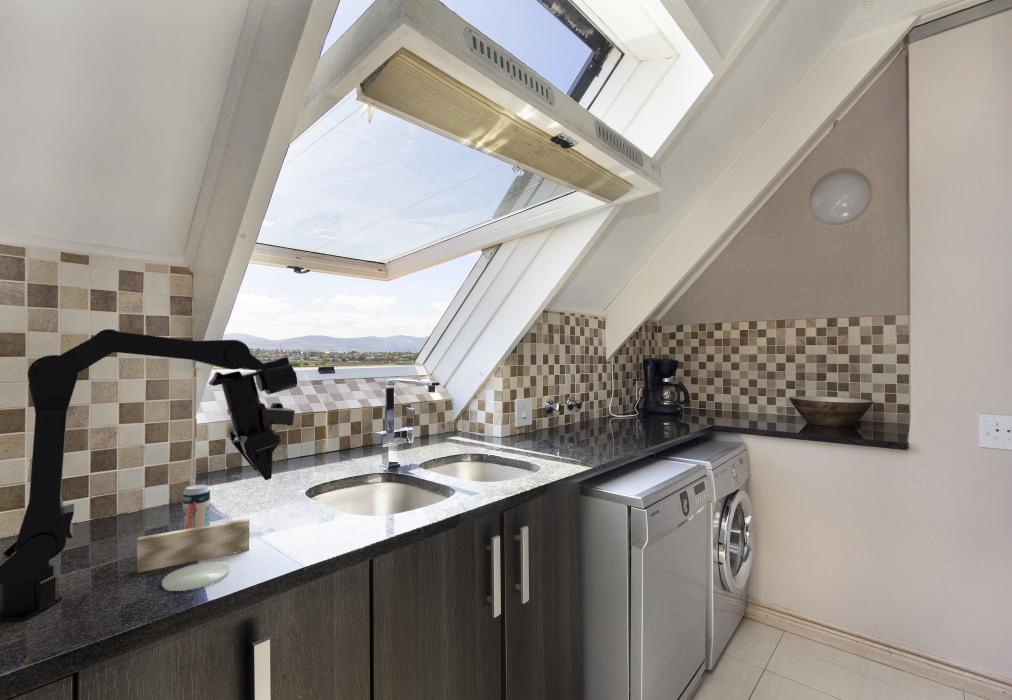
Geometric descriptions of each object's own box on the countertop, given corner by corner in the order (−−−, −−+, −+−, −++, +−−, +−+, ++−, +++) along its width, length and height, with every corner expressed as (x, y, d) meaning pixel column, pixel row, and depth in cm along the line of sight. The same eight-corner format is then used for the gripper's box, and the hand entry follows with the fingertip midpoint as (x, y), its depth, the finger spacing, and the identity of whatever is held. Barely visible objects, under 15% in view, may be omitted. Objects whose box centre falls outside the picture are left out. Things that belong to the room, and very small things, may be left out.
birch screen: (137, 572, 86) (137, 539, 86) (138, 569, 87) (138, 537, 87) (249, 550, 96) (249, 520, 96) (248, 547, 97) (248, 518, 97)
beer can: (180, 543, 99) (180, 486, 99) (206, 537, 102) (206, 482, 102) (185, 550, 95) (185, 491, 96) (212, 543, 99) (212, 486, 99)
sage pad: (147, 591, 79) (147, 588, 79) (187, 565, 89) (187, 562, 89) (206, 591, 79) (206, 588, 79) (240, 565, 89) (240, 561, 89)
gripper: (298, 393, 92) (317, 468, 94) (274, 387, 106) (291, 452, 108) (235, 410, 85) (256, 491, 87) (218, 402, 99) (237, 471, 102)
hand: (263, 474), depth 96 cm, fingers open, 9 cm apart
